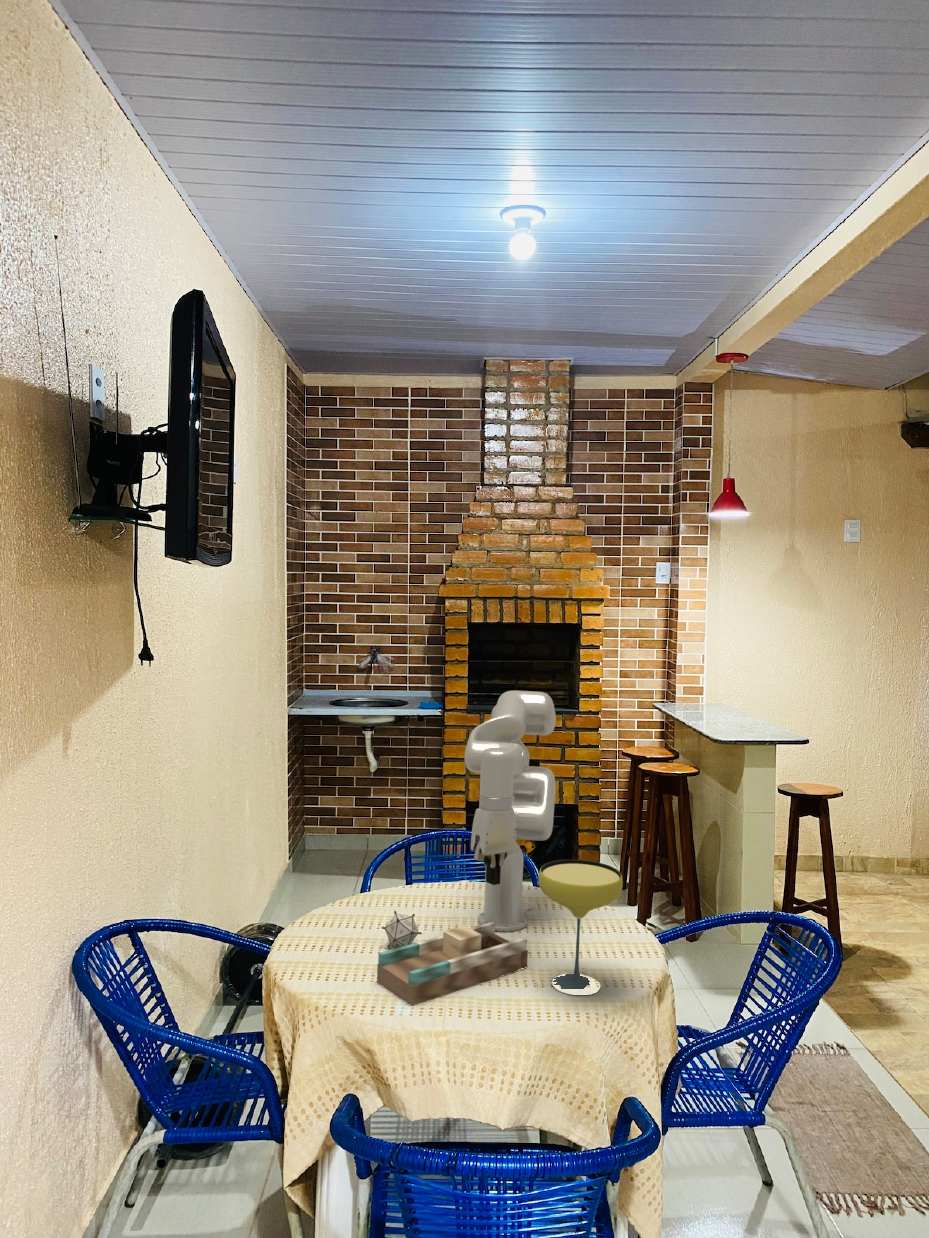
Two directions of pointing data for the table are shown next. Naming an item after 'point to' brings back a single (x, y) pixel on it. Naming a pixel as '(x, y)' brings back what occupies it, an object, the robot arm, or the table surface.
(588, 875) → the cocktail glass
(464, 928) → the maple block
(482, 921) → the robot arm
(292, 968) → the table surface
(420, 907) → the table surface
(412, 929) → the game die
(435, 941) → the trap deck
